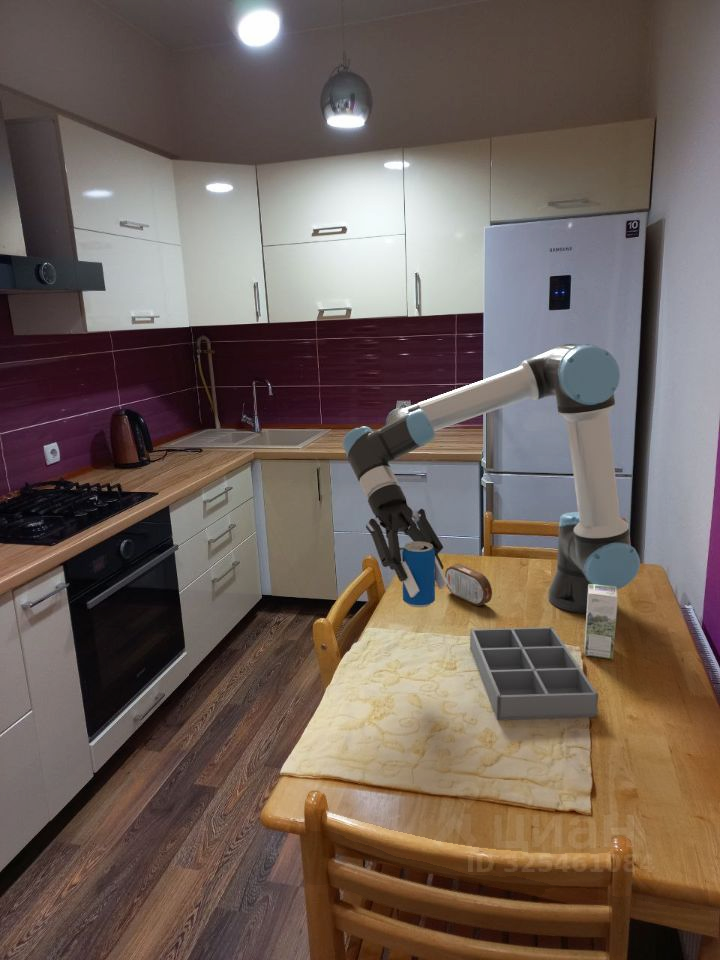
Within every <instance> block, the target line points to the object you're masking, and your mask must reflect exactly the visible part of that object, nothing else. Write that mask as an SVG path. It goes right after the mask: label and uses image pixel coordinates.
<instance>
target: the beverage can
mask: <svg viewBox="0 0 720 960" xmlns="http://www.w3.org/2000/svg"><path fill="white" fill-rule="evenodd" d="M401 555H402V556H401V563H402V562H404V561H405V562H406V564H407V565H408V567H409V569H410V571H411V574H412V576H413V578H414V580H415V582H416V584H417V586H418V588H419V592H418V593H417V594H416V595H415V596H414V597H410V595H409V593H408V591H407V588H406V586H405V584H404V582H403V581H402V600H403V602H405V604H407V606H409V607H412V608H425V607H426V608H427V607H429V606H430V605H431V604H432V603H435V601H436V581H435V551H434V549H433V545H432V544H430V543H427V542H420V541H417V542H414V541H410V542H407V543H405V544H404V548H403V550H402V554H401Z"/></svg>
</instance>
